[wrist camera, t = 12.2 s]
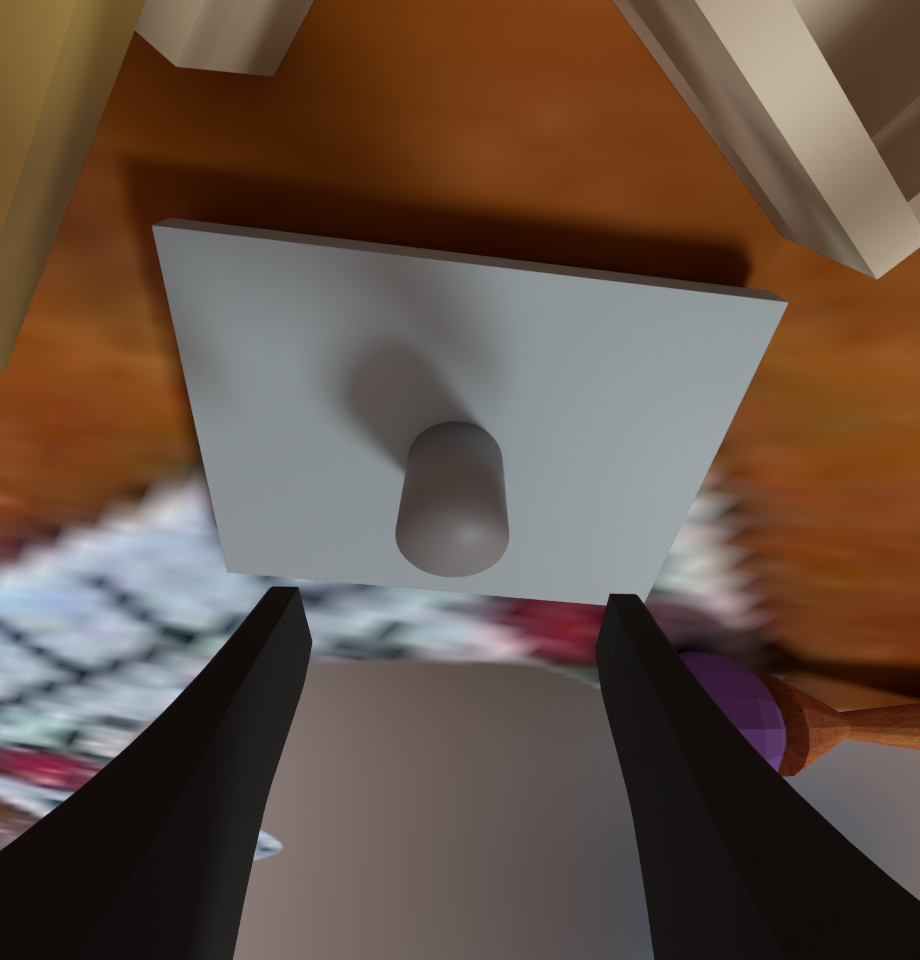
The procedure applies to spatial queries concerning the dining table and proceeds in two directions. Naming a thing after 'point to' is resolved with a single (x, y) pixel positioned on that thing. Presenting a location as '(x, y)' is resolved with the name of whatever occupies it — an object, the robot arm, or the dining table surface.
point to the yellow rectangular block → (48, 127)
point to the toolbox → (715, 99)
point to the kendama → (795, 715)
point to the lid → (451, 409)
